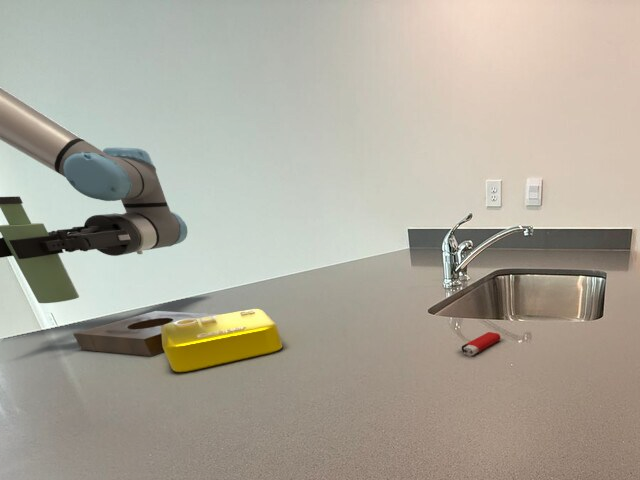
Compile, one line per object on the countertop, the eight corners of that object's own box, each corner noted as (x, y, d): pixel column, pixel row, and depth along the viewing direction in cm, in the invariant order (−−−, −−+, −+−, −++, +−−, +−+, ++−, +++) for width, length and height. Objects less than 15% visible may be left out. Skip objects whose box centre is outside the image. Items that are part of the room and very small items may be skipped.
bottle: (30, 302, 68) (-28, 197, 61) (66, 295, 72) (16, 196, 65) (51, 304, 67) (-5, 196, 60) (86, 296, 71) (38, 196, 64)
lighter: (500, 333, 68) (472, 349, 62) (500, 340, 69) (473, 356, 63) (486, 331, 70) (458, 346, 64) (487, 338, 70) (458, 353, 64)
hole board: (81, 349, 70) (72, 333, 69) (161, 325, 82) (155, 310, 81) (151, 356, 67) (143, 339, 65) (225, 329, 79) (219, 314, 77)
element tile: (173, 375, 59) (160, 344, 57) (170, 348, 70) (158, 321, 68) (285, 350, 67) (277, 322, 65) (267, 329, 78) (260, 304, 76)
